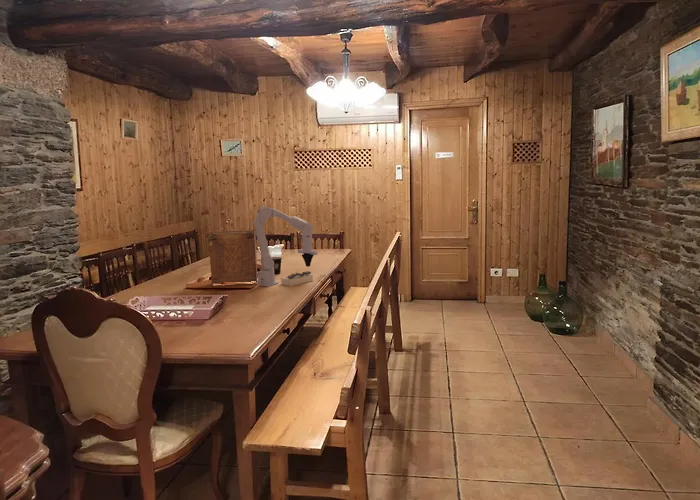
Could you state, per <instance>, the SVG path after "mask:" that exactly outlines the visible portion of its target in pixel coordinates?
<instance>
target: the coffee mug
mask: <svg viewBox="0 0 700 500" xmlns="http://www.w3.org/2000/svg"><path fill="white" fill-rule="evenodd" d="M271 258H272V260H273V261H274V266H273V267H274V276H275V275H276V276H277V275H280V274H281V271H282V257H281V256H271ZM261 265H262V264H261ZM262 266H263V265H262ZM262 266H261V267H262Z"/></svg>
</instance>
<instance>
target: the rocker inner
mask: <svg viewBox="0 0 700 500" xmlns="http://www.w3.org/2000/svg"><path fill="white" fill-rule="evenodd" d="M287 277H288V278H290V279H292V278H294V277H296V273H292V274H289V275H288V276H287Z"/></svg>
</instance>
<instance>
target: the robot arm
mask: <svg viewBox="0 0 700 500" xmlns="http://www.w3.org/2000/svg"><path fill="white" fill-rule="evenodd" d="M271 217H272V218H274V217H275V218H279V219H282V220H284V221H286V222H288V223H289V226H291V227H293V228H295V229H298V230H300V231H301V243H302V244H301V245H302V247H301V248H302V249H297V253H298V254H301V258H303V261H304V264H305V267H307V268H309V267H311V263H312V260H313V258H314V256H318V251H316V250H314V249H313V234H312V233H313V229H314V228H313V225H312V224H311V223H310V222H308V221H307V220H306V219H301V218H300V217H299V216H297V215H296V216H294V215H293V216H290V215H287V214H286V213H284V212H282V211H281V210H278V209H276V208H273V207H268V206H266V205H262V206H260V208H258V209H257V211H256V214H255V217H254V219H253V226H254V230H255V236H256V240H257V243H258V247H259V251H260V258H261V259H260V264H261V265H263V266H261V268H260V269H261V270H259V271H258V272H257V276H258V281H257V284H256V285H257V286H259V287H260V286H261V287H270V286H274V285H276V284H278V283H279V282H278V281H276V279H275V278H276V277H275V275H274V267H273V266H274V261H273V260H272V258H271V257H272V255H271V252H270V250H269V249H270V248H269V245H268V241H267V237H266V232H265V229H264V224H265V222H266V221H267V220H268V219H269V218H271Z"/></svg>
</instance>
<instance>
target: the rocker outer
mask: <svg viewBox="0 0 700 500" xmlns="http://www.w3.org/2000/svg"><path fill="white" fill-rule="evenodd" d="M301 273H302V274H304V275H307V274H311V275H312V271H311V270H310V271H308V270H306V271H302V272H301Z"/></svg>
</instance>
